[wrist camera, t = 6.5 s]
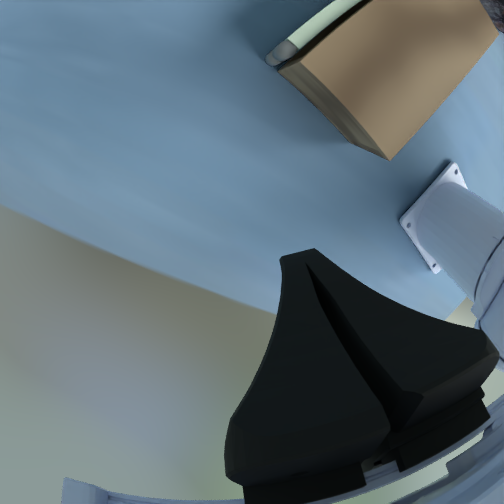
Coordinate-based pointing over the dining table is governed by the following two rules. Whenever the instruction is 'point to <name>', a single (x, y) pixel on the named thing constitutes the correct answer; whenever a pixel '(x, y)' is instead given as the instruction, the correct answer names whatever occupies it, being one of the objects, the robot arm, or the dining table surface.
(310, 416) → the robot arm
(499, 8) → the crystal cluster
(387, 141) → the cabinet
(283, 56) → the door
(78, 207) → the dining table surface
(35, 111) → the dining table surface
